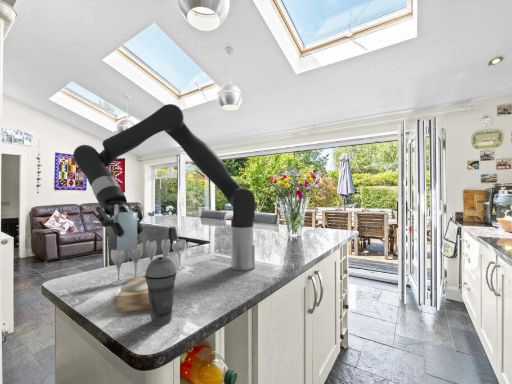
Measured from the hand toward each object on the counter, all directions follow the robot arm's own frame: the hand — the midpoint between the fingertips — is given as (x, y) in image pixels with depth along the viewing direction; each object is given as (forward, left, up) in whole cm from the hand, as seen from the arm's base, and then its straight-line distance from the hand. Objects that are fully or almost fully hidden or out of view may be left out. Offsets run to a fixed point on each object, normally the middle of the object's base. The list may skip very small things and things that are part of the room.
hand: (131, 233), depth 75 cm
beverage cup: (-10, +16, -20) cm, 28 cm away
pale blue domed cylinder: (+1, -1, -5) cm, 5 cm away
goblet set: (-3, -22, -20) cm, 29 cm away
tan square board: (-4, +2, -19) cm, 20 cm away
